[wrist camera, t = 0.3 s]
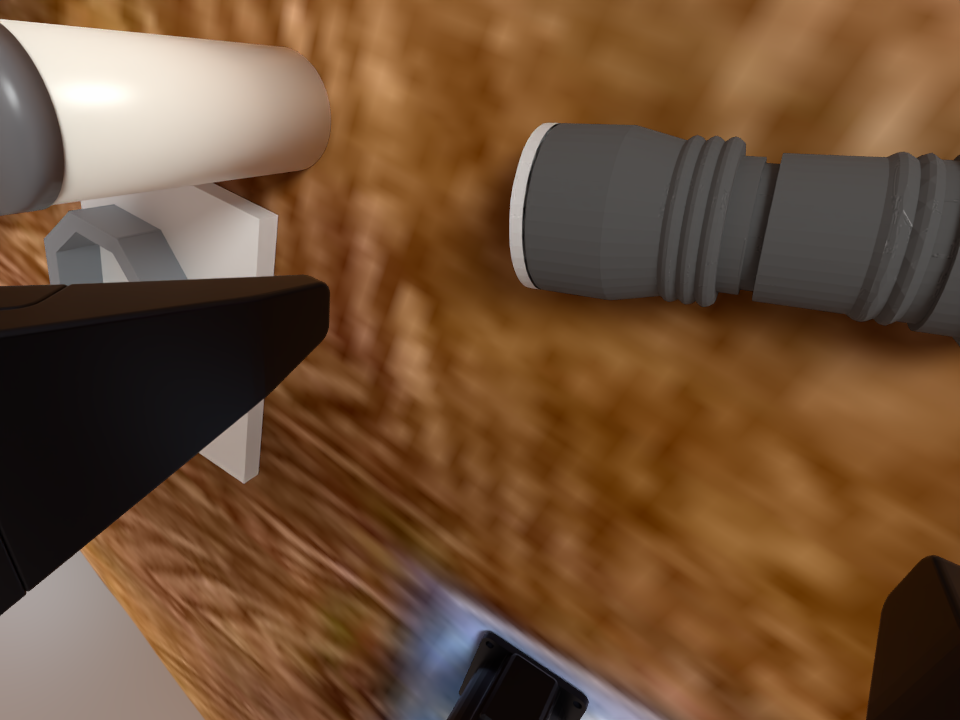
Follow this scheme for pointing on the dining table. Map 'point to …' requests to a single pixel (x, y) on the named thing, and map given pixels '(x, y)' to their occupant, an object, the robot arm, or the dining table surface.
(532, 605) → the dining table surface
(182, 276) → the socket plate
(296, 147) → the canister
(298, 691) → the dining table surface
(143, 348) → the robot arm
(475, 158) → the dining table surface
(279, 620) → the dining table surface
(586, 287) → the flashlight
